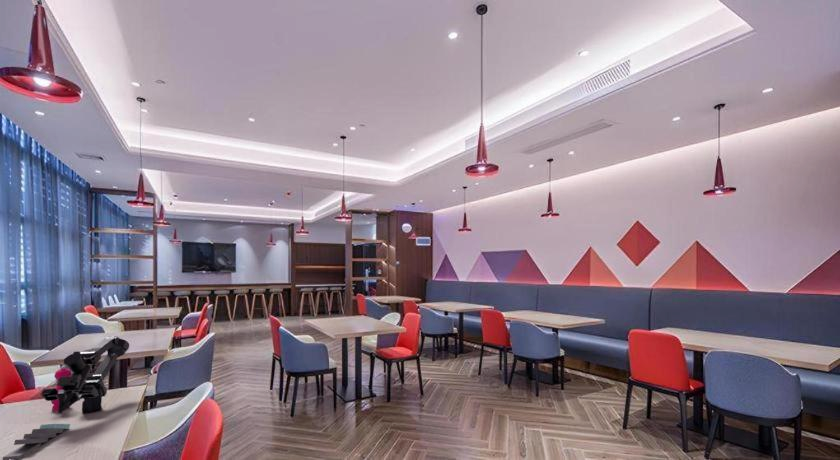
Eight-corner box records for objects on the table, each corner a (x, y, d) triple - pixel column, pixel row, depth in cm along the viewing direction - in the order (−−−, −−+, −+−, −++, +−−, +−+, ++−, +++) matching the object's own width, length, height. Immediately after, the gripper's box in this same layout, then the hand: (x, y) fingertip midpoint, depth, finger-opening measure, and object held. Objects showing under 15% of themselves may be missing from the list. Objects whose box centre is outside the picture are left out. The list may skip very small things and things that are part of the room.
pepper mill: (74, 407, 189) (77, 364, 191) (56, 412, 182) (59, 367, 184) (65, 405, 192) (67, 362, 193) (46, 410, 185) (49, 366, 186)
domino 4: (49, 429, 160) (32, 429, 152) (63, 428, 161) (48, 428, 153) (47, 434, 160) (31, 434, 151) (62, 432, 161) (46, 432, 152)
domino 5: (56, 425, 164) (40, 424, 156) (70, 424, 165) (55, 423, 157) (55, 429, 164) (39, 429, 155) (69, 428, 165) (54, 428, 156)
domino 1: (33, 438, 152) (15, 439, 143) (48, 437, 153) (31, 438, 144) (31, 443, 151) (13, 445, 142) (47, 442, 152) (30, 443, 144)
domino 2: (25, 444, 148) (2, 457, 138) (40, 442, 149) (19, 455, 139) (24, 448, 148) (2, 461, 138) (40, 447, 149) (19, 460, 139)
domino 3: (41, 434, 156) (24, 434, 147) (56, 432, 157) (40, 432, 149) (40, 438, 156) (23, 438, 147) (55, 437, 157) (39, 437, 148)
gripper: (44, 369, 167) (22, 405, 156) (95, 366, 171) (77, 401, 159) (56, 382, 174) (36, 418, 163) (105, 379, 178) (88, 414, 167)
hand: (59, 413), depth 163 cm, fingers closed
